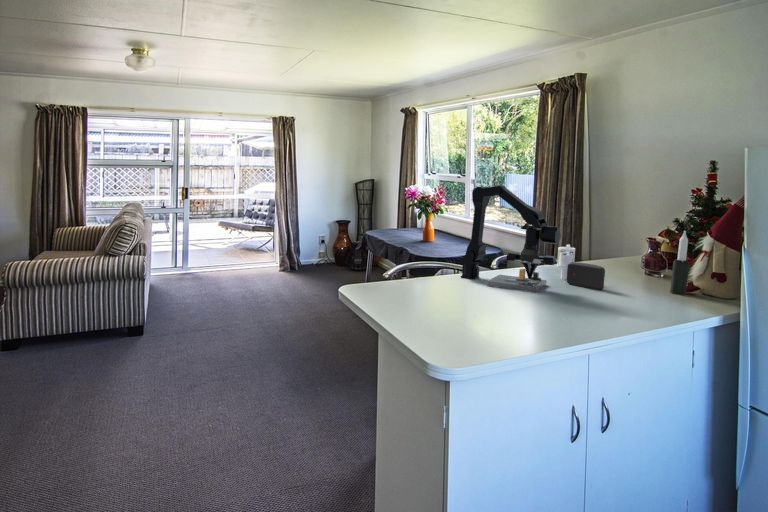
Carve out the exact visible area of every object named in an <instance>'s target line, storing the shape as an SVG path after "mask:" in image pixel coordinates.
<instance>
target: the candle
mask: <svg viewBox="0 0 768 512" xmlns="http://www.w3.org/2000/svg"><path fill="white" fill-rule="evenodd" d="M688 245H689V238H688V237H687V230H684V231H683V233H682V235H681V237H680V238H679V243H678V251H677V258H675V259H674V260H673V262H672V271H671V280H670V288H669V292H670V293H671V294H672V295H681V294H686V293H687V286H688V277H689V269H690V262H689V260H688V259H687V254H688Z"/></svg>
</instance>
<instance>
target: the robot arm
mask: <svg viewBox="0 0 768 512" xmlns="http://www.w3.org/2000/svg"><path fill="white" fill-rule="evenodd" d="M471 195H472V196H471V199H472V204H473V206H474V208H473V209H474V211H473V218H472V219H473V220H472V228H471V229H472V230H471V237H470V241H469V243H468V245H467V248H466V250H465V254H464V255H463V256H462V257H461V258H460V259H459V260H460V264H461V266H462V269H461V275H460V278H464V279H471V280H475V279H478V278H479V277H480V267H479V264H480V263H481V260H482V259H484V257H485V255H487V254H486V252H487V251H486V250H487V245H486V244H485V245H484V243H483V237H484V235H483V234H484V226H485V218H486V211H487V210H486V209H487V207H488V205H489V203H490V201H491V197H496V196H498V197H499V198H501V200H503V201H504V202H506V203H507V204H508V205H509V206H511V207H512V208H513V209H514V210H515V211H517V213H519V215H520V217H521V218H522V219H523V221H524V222H526V223H524V224H523V226H521V227H520V229H521V230H525V239H524V245H523V249H522V250H521V252H517V251H510V252H508V253H507V254H506V260H507V261H511V262H513V261H515V260H520V264H521V265H523V267H524V269H526V270H525V273H526V276H527V278H528V279H531V278H532V277H533V273H534V272H536V269H537V267H538V266H541V264H542V263H543V264H544V265H549V266H554V265H555V264H557V257H556V256H554V255H545V256H540V247H541V243H540V242H542V243H546V244H554V245H555V244H556V245H558V244H559V243H560V240H561V236H562V235H561V231H560V227H559V226H555V225H554V226H550V225H549V224H548V222H547V220H546V219H545V217H544V213H543V211H542V210H540V209H539V208H536V207H534V206H532V205H530V204H527V203H526V202H524V200H522V199H521V198H519V196H517V195H516V194H514V193H513V192H512V191H510V190H509V189H508V188H507V187H506V186H505V185H504V184H499V185H494V186H490V187H489V186H476V187H475V188H473V190H472V193H471Z"/></svg>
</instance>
